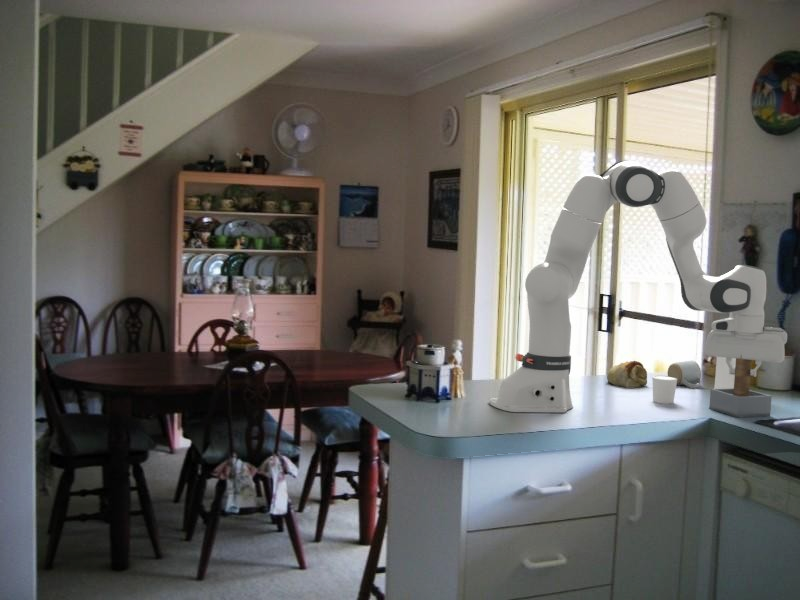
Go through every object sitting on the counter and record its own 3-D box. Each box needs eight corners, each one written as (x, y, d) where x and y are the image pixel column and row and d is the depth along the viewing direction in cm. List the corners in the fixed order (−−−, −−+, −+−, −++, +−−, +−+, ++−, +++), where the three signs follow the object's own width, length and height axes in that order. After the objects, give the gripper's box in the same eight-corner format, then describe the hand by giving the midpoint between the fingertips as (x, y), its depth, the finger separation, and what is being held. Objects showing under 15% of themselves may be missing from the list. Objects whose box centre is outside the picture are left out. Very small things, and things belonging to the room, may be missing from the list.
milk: (713, 394, 260) (718, 322, 258) (725, 392, 263) (730, 321, 262) (731, 397, 255) (736, 324, 253) (743, 395, 258) (748, 323, 257)
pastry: (644, 390, 262) (645, 364, 261) (603, 385, 267) (604, 360, 266) (649, 383, 275) (651, 358, 274) (610, 379, 280) (612, 355, 279)
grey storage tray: (737, 417, 227) (738, 397, 226) (709, 408, 237) (710, 389, 236) (770, 415, 230) (771, 395, 230) (741, 407, 241) (742, 388, 240)
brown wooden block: (738, 398, 232) (741, 354, 231) (733, 396, 234) (736, 353, 233) (748, 397, 233) (751, 354, 232) (743, 396, 235) (746, 353, 234)
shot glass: (677, 404, 240) (678, 380, 240) (651, 403, 242) (653, 378, 241) (674, 400, 247) (676, 376, 246) (649, 398, 248) (651, 374, 248)
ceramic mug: (664, 382, 276) (666, 359, 276) (685, 381, 279) (686, 358, 279) (687, 389, 267) (689, 365, 266) (707, 388, 270) (709, 364, 269)
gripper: (788, 327, 230) (784, 378, 231) (708, 321, 239) (705, 369, 240) (787, 329, 224) (783, 381, 225) (705, 322, 233) (702, 372, 234)
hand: (742, 375), depth 233 cm, fingers closed on brown wooden block, 4 cm apart
